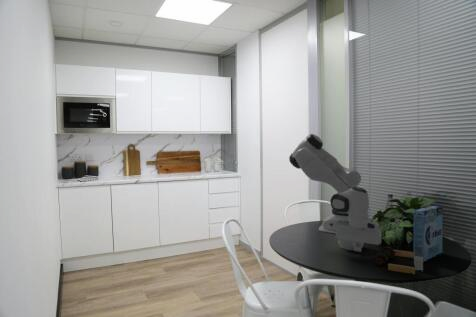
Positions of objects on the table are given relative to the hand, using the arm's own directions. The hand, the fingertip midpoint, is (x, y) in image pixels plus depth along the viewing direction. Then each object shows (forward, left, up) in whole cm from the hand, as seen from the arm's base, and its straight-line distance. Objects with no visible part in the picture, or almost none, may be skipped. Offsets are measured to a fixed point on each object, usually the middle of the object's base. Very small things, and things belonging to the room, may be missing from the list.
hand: (357, 251), depth 153 cm
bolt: (+11, 0, -3) cm, 12 cm away
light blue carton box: (+30, +16, -3) cm, 34 cm away
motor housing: (+20, 0, -3) cm, 20 cm away
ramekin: (-5, +14, -3) cm, 16 cm away
